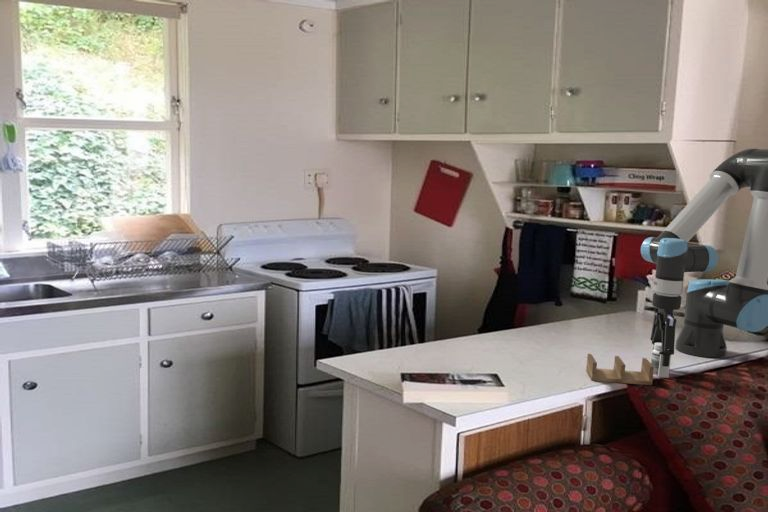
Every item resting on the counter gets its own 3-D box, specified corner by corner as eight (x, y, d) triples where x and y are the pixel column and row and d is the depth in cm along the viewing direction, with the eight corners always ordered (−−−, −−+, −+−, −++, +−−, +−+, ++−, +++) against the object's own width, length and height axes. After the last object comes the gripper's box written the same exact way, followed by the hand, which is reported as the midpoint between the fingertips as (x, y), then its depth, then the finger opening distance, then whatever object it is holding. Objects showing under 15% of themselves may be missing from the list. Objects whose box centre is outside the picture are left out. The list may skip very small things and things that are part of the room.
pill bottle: (664, 370, 232) (667, 342, 230) (670, 375, 227) (673, 346, 226) (647, 370, 232) (650, 341, 230) (653, 375, 227) (656, 345, 226)
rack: (644, 375, 226) (646, 358, 225) (652, 385, 217) (654, 367, 216) (586, 371, 227) (587, 353, 226) (591, 380, 218) (593, 362, 217)
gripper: (644, 285, 237) (637, 360, 240) (663, 300, 216) (654, 382, 219) (671, 287, 236) (662, 362, 240) (692, 302, 215) (683, 384, 218)
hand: (659, 371), depth 229 cm, fingers open, 9 cm apart
